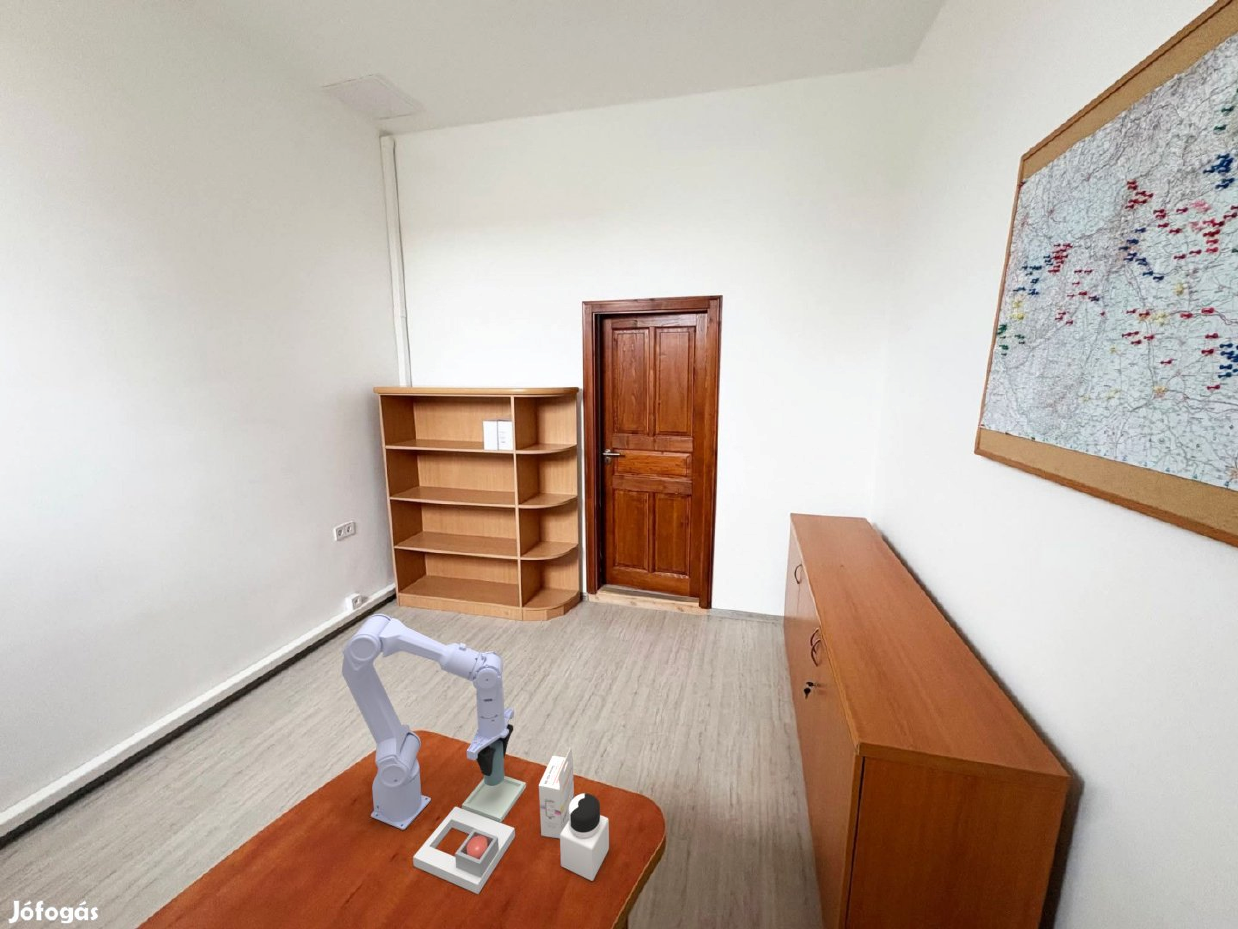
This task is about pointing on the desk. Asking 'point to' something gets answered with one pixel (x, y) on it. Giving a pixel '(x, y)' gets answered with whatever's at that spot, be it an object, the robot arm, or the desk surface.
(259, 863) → the desk surface
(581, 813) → the medicine bottle
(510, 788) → the tray
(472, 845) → the release plunger
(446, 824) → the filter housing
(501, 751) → the cylinder
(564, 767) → the ink cartridge box
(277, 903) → the desk surface
